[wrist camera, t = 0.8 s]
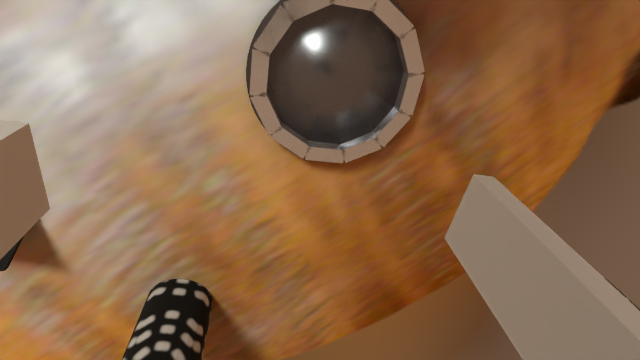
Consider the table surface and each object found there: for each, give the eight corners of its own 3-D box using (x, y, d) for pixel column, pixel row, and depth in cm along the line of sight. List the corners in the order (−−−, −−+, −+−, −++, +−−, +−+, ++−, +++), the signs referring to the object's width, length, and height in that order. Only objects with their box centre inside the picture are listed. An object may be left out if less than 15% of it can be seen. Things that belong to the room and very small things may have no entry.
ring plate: (253, -39, 29) (251, -41, 26) (440, -3, 32) (452, -2, 29) (242, 148, 37) (240, 158, 34) (393, 162, 40) (399, 172, 37)
